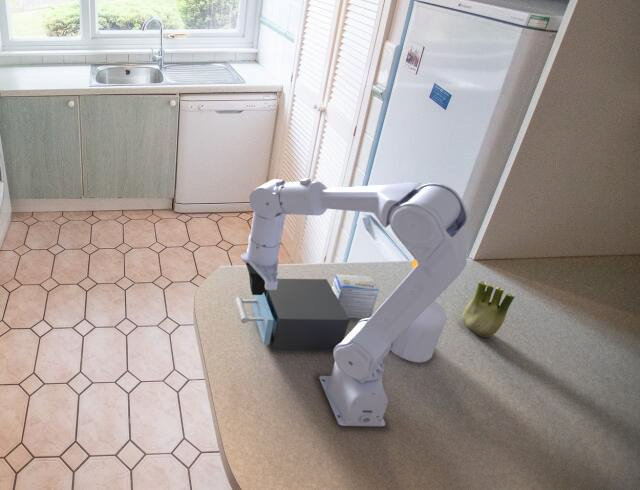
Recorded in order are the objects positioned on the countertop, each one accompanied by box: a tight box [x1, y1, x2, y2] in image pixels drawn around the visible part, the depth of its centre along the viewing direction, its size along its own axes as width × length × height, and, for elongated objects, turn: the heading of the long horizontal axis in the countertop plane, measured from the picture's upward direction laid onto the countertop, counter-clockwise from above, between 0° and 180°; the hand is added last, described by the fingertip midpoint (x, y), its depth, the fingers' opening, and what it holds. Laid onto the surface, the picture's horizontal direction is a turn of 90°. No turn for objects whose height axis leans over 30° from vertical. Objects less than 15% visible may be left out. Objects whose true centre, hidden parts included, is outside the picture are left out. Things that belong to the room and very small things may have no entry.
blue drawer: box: [234, 291, 278, 346], centre depth 95 cm, size 17×10×7 cm, turn 89°
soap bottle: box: [390, 257, 448, 363], centre depth 88 cm, size 9×9×25 cm
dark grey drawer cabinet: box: [264, 278, 350, 352], centre depth 95 cm, size 14×12×9 cm
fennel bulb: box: [461, 280, 516, 338], centre depth 94 cm, size 6×5×12 cm
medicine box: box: [331, 274, 380, 320], centre depth 99 cm, size 8×4×9 cm, turn 84°
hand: (256, 292), depth 93 cm, fingers closed
